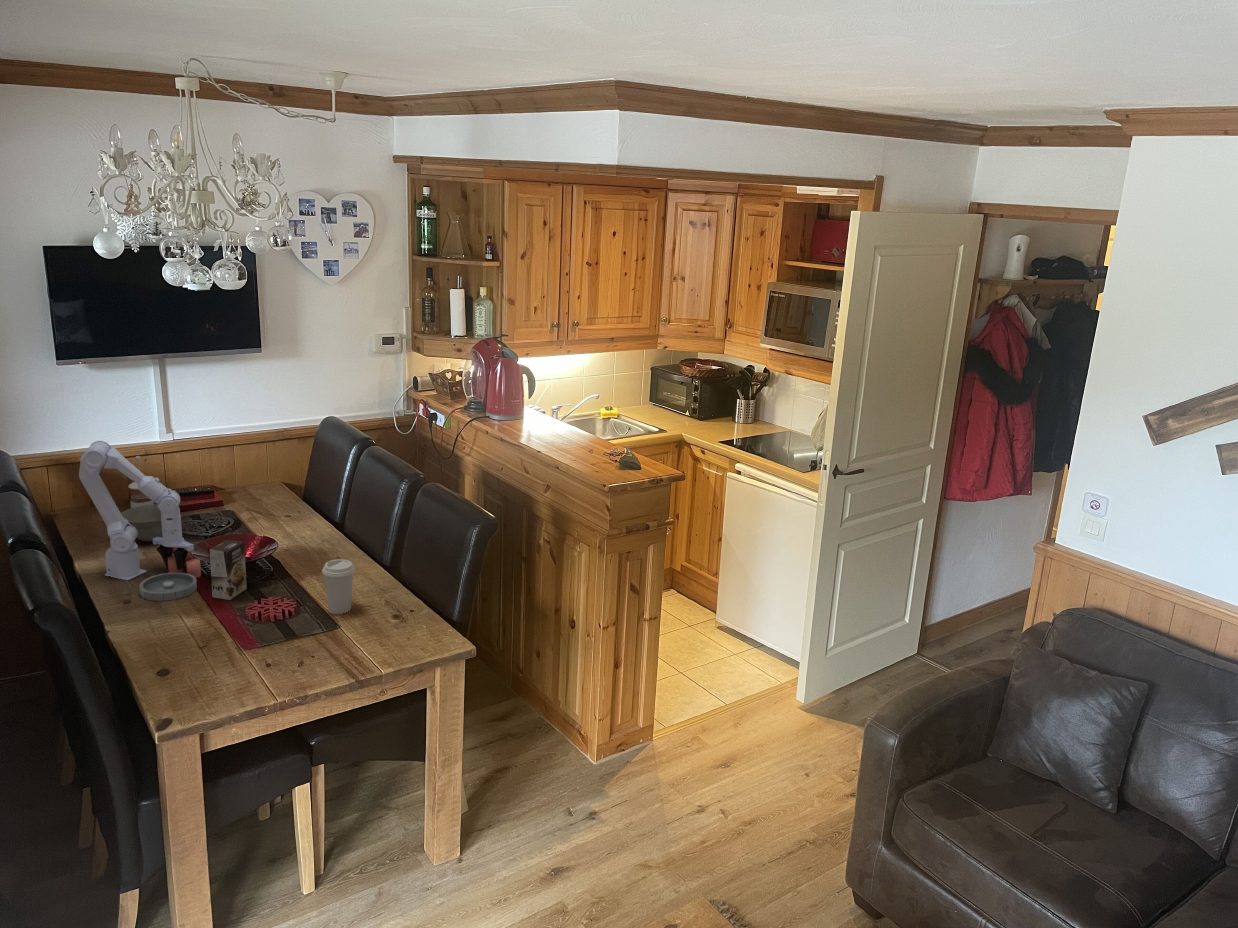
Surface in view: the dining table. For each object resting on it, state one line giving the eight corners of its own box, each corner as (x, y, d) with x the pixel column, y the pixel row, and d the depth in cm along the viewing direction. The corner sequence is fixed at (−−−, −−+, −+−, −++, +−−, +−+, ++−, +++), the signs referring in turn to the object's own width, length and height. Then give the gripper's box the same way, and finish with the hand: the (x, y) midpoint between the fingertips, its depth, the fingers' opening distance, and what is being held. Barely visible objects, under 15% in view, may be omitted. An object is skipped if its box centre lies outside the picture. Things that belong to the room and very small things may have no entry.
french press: (129, 516, 343) (123, 453, 336) (164, 514, 348) (158, 451, 341) (128, 525, 335) (122, 460, 328) (163, 522, 340) (158, 458, 333)
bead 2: (184, 576, 296) (183, 562, 294) (193, 572, 300) (192, 558, 298) (194, 579, 295) (193, 564, 293) (203, 574, 298) (202, 560, 297)
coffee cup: (346, 600, 286) (345, 555, 282) (361, 610, 280) (360, 565, 276) (317, 608, 280) (315, 563, 276) (332, 619, 273) (331, 573, 269)
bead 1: (165, 572, 298) (164, 558, 297) (175, 568, 302) (173, 554, 300) (175, 574, 297) (174, 560, 295) (184, 570, 300) (183, 556, 299)
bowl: (186, 543, 322) (184, 516, 319) (126, 552, 312) (123, 524, 309) (176, 526, 337) (174, 501, 334) (118, 534, 326) (116, 508, 324)
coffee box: (230, 600, 282) (227, 551, 277) (211, 597, 283) (208, 549, 278) (247, 588, 290) (245, 541, 286) (229, 586, 291) (226, 538, 287)
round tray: (127, 595, 281) (127, 587, 280) (167, 576, 295) (166, 569, 295) (170, 604, 276) (169, 597, 276) (208, 585, 291) (207, 577, 290)
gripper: (199, 528, 297) (202, 566, 300) (163, 521, 301) (166, 559, 304) (183, 535, 290) (186, 574, 294) (146, 528, 294) (149, 567, 298)
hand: (175, 567), depth 299 cm, fingers closed on bead 1, 4 cm apart
